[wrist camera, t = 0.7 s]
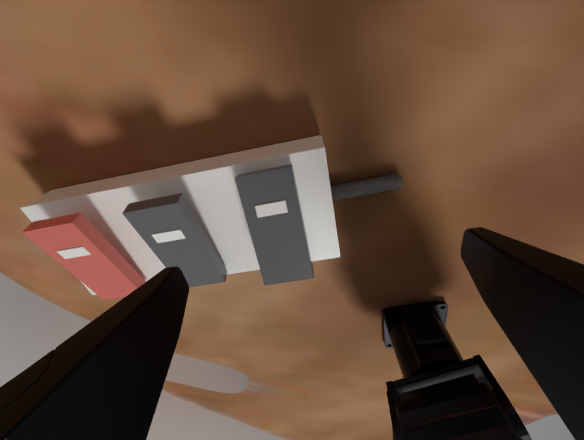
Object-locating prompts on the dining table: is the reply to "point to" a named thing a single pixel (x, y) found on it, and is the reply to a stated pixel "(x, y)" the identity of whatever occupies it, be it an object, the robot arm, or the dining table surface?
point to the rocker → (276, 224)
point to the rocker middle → (177, 238)
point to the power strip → (212, 202)
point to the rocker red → (85, 254)
